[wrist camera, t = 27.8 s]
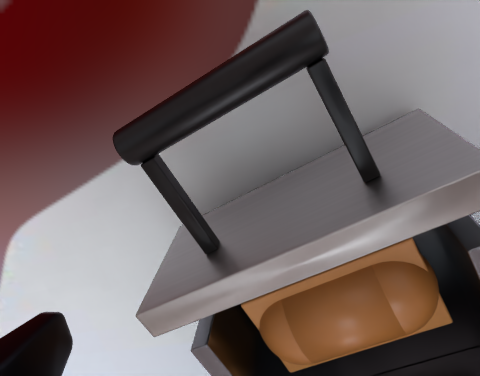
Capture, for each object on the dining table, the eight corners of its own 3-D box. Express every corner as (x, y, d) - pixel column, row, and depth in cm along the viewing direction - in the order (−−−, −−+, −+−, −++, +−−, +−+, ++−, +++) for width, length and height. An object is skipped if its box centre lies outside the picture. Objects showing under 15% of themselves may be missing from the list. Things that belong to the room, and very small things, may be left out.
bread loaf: (285, 321, 19) (286, 400, 15) (243, 260, 18) (231, 329, 14) (429, 270, 17) (474, 346, 13) (393, 195, 16) (430, 256, 12)
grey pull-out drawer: (111, 133, 17) (24, 190, 11) (363, -28, 13) (421, -63, 8) (299, 389, 23) (304, 510, 17) (510, 328, 19) (605, 458, 14)
